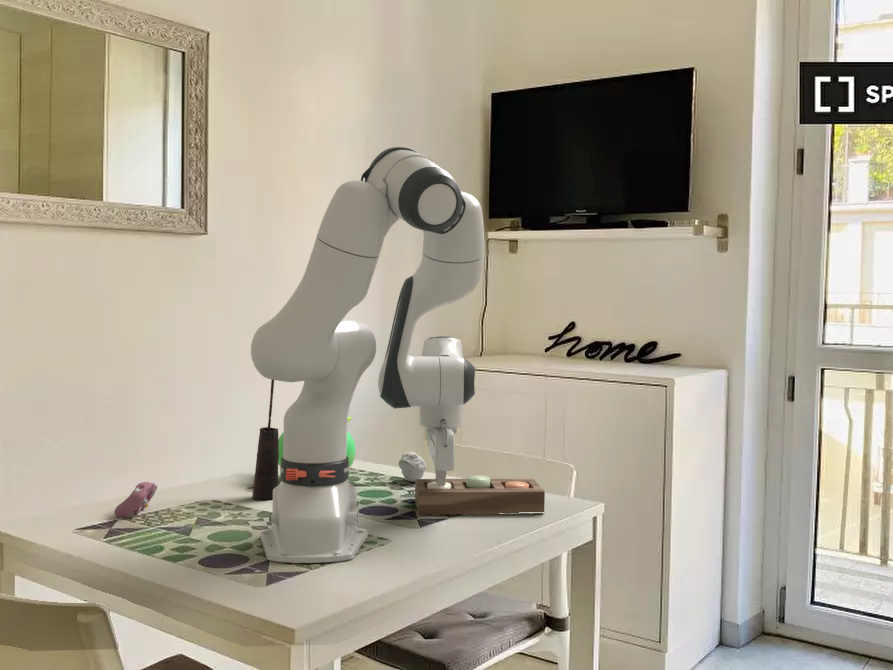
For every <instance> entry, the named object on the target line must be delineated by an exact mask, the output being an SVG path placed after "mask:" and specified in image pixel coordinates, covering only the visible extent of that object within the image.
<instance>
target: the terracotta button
mask: <svg viewBox="0 0 893 670" xmlns="http://www.w3.org/2000/svg"><path fill="white" fill-rule="evenodd" d="M505 488H529V484H528V483H526V482H520V481H511V482H506V483H505Z"/></svg>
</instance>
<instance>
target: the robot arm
mask: <svg viewBox="0 0 893 670" xmlns="http://www.w3.org/2000/svg"><path fill="white" fill-rule="evenodd" d="M482 208H483V207H482V205H481V203H480V201H479V200H478V199H477V198H476V197H475V196H473V195H472V194H470V193H467V192H465V191H461V189H460V187H459V184H458V183H457V182H456V180H455V179H454V177H453V176H452V175H451V174H450V173H449V172H448V171H447V170H445V169H443V168H441V167H440V166H439V165H438V164H436V162H435V161H434V160H433V159H431V158H430V157H428V156H425V155H423V154H421V153H418V152H417V151H415V150H414V149H411V148H407V147H403V146H402V147H401V146H395V147H394V146H393V147H390V148H386V149H385V150H383V151H381V152H380V153H379V154H377V156H376V157H375V158H374V159H373V160H372V162H371V163H370V165H369V167H368V168H367V169H366V170H365V171H364V172H363V173H362V174H361V178H360V180H350V181H346V182H344V183H342V184H340V185H339V187H338V188H337V189H336V191H335V192H334V194H333V195H332V198H331V199H330V202H329V204H328V206H327V208H326V211H325V212H324V216H323V217H322V219H321V222H320V225H319V229H318V231H317V234H316V239H315V240H314V243H313V247H312V250H311V253H310V256H309V260H308V263H307V265H306V268H305V271H304V274H303V276H302V278H301V281H300V282H299V284H298V285H297V288H296V289H295V290H294V292H293V293H292V295H291V296H290V297H289V299H288V300H287V302H286V303H285V304H284V306H283V307H282V308H281V309H280V310H279V312H277V314H275V316H273V317H272V318H271V319H269V320H268V321H266V323H265V322H264V324H262V325H261V326H259V327H258V328H257V330H256V331H255V333H254V335H253V338H252V341H251V345H250V356H251V361H252V363H253V365H254V368H255V369H256V371H257V372H258V373H259V374H260V375H261V376H262V377H264V378H266V379H268V380H274V381H279V382H286V383H296V382H299V383H300V382H303V385H302V389H301V391H300V393H299V395H298V397H297V398H296V400H295V401H294V402H293V403H292V404H291V405H290V406H289V407H288V408H287V409H286V411H285V413H284V415H283V416H284V417H283V432H284V439H283V457H282V458H281V465H279V471H280V477H279V479H280V483H278V486H277V487H275V489H273V499H272V513H271V514H272V515H269V520H268V522H269V523H270V524H272V525H271V527H270V528H266V529H262V530H261V531H260V535H259V539H260V542H261V544H262V545H261V546H262V548H263V551H264V553H265V556H266V557H265V558H266V559H267V560H268V561H272V562H278V563H279V562H280V563H293V564H295V563H296V564H299V563H301V564H304V563H305V564H311V563H312V564H313V563H314V564H316V563H334V562H343V561H347V560H348V561H349V560H352V559H354V557H355V555H356V554H357V553H358V551H359V550H360V548H361V547H362V546H363V544H364V542H365V541H366V539H367V538H368V536H369V535H368V533H369V532H368V529H366V528H363V527H362V528H361V527H359V526H358V525H359V512H358V508H359V500H358V498H357V496H358V495H357V494H358V491H357V488H355V487H354V486H353V485H352V484H351V483H350V481H349V477H350V468H349V458H348V457H347V456H346V448H347V431H348V423H349V422H348V417H349V412H350V407H351V403H352V400H353V398H354V397H353V396H354V393H355V391H356V388H357V385H358V383H359V381H360V379H361V377H362V376H363V374H364V373H365V371H366V370H367V369H368V368H369V367H370V366H371V365H372V363H373V362H374V359H375V357H376V353H377V341H376V340H377V339H376V337H375V334H374V332H373V330H372V329H371V327H370V326H369V325H368V324H366V323H365V322H363V321H361V320H358V319H354V318H350V317H346V315H347V314H348V313H350V311H351V310H353V308H355V307H356V306H358V305H360V303H362V302H363V301H364V299H365V298H366V296H367V294H368V291H369V289H370V286H371V283H372V279H373V277H374V273H375V270H376V267H377V263H378V260H379V258H380V255H381V251H382V248H383V245H384V240H385V237H386V236H387V234H388V232H389V230H390V229H391V227H392V226H393V225H394V224H395V223H396V222H398V221H399V219H400V220H402V221H404V222H405V223H407V224H408V225H409V226H411V227H413V228H414V229H416V230H421V231H422V233H423V242H422V256H421V261H420V263H419V266H418V268H417V269H416V271H415V272H414V274H413V275H411V276H409V277H408V278H405V280H404V282H403V284H402V286H401V289H400V292H399V296H398V299H397V304H396V307H395V312H394V317H393V320H392V321H393V322H392V325H391V326H392V327H391V330H390V335H389V339H388V343H387V349H386V353H385V356H384V359H383V363H382V364H381V368H380V370H379V374H378V380H377V381H378V382H377V383H378V385H377V386H378V392H379V397H380V399H381V400H383V401H384V402H385V403H386V404H387V405H388V406H390V407H391V408H393V409H405V408H406V409H407V408H412V407H418V408H419V425H420V426H422V427H425V433H426V438H427V447H428V448H427V449H428V452H429V456H430V457H431V461H432V463H433V466H434V471H435V479H436V483H437V485H438V486H444V485H445V484H446V479H447V473H448V472H451V471H454V469H455V435H456V434H457V433H458V430H457V429H458V427H459V428H460V427H463V425H464V405H465V404H467V403H468V402H469V401H470V400H471V399H472V398H473V397H474V396H475V395H476V393H475V391H476V389H475V376H476V375H475V374H476V367H475V366H474V365H473V364H472V363H471V362H470V361H469V360H468V359H467V358H465V357H464V354H463V346H462V341H461V339H459V338H457V337H454V336H443V335H442V336H432V337H429V338H425V340H424V342H423V346H422V352H421V356H420V355H417V356H416V355H410V354H409V353H410V350H411V349H410V348H411V344H412V341H413V335H414V333H415V332H414V331H415V327H416V324H417V322H418V321H419V319H420V318H421V317H423V316H424V315H426V314H427V313H430V312H431V311H434V310H436V309H438V308H441V307H445V306H447V305H451V304H454V303H456V302H458V301H460V300H462V299H464V298H465V297H467V296H469V295H470V294H471V293H472V292H473V291H474V290H475V289H476V288H477V287H478V285H479V283H480V281H481V277H482V273H483V267H484V257H485V225H484V215H483V209H482ZM347 422H348V423H347Z"/></svg>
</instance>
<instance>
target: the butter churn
mask: <svg viewBox="0 0 893 670" xmlns="http://www.w3.org/2000/svg"><path fill="white" fill-rule="evenodd" d="M270 380H271V382H270V399H269V407H268V408H269V410H268V422H267V427H266V426H264V427H261V428H259V429H258V430H259V435H258V441H257V442H258V443H257V453H256V463H255V468H254V469H255V472H254V481H253V487H252V488H253V489H252V499H254V500H257V501H262V500H273V489H275V487H277V486H278V485H279V464H278V459H279V437H280V436H279V428H276V427H271V426H272V425H271V423H272V419H271V417H272V411H273V400H274V399H273V398H274V397H273V396H274V389H275V388H274V387H275V380H272V379H270Z"/></svg>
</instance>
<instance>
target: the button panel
mask: <svg viewBox="0 0 893 670" xmlns="http://www.w3.org/2000/svg"><path fill="white" fill-rule="evenodd" d="M511 481H520V482H526V483H528V484H529V488H505V483H506V482H511ZM430 482H436V478H421V479H415V482H414V484H415V485H414V503H415V507H416V510H417V515H418V516H423V515H422V514H432V515H431V516H434V515H435V514H436V515H435V516H437V515H439V516H441V515H444V516H445V515H446V514H449V515H450V516H451V514H453V516H455V514H476V515H500V514H499V513H519V512H544V513H545V503H546V502H545V500H546V499H545V493H546V491H545V490H544V489H543V488H542V487H541V486H540V485H539V483H538V482H537V481H536V479H534V478H490V488H474V489H466V485H467V478H446V482H447V483H450V484H451V489H427V484H428V483H430ZM440 514H441V515H440ZM449 515H448V516H449ZM446 516H447V515H446Z"/></svg>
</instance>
